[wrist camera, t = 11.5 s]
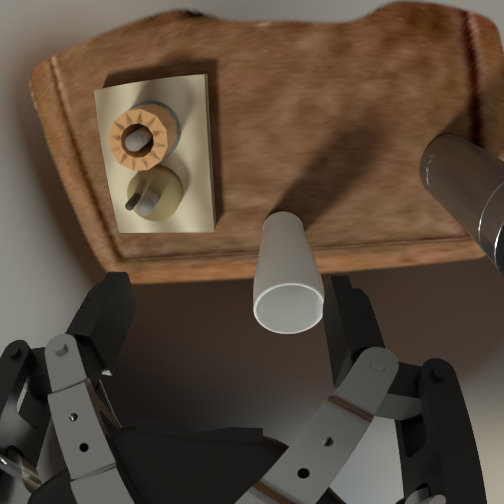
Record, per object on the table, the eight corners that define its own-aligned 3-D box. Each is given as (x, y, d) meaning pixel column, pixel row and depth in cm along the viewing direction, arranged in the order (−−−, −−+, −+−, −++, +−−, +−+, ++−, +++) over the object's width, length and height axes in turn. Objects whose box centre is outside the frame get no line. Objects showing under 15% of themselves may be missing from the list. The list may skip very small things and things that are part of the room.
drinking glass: (319, 224, 40) (342, 305, 28) (285, 258, 43) (292, 343, 31) (279, 193, 38) (286, 268, 25) (245, 231, 41) (237, 314, 28)
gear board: (207, 73, 30) (194, 76, 24) (216, 224, 40) (208, 255, 35) (102, 88, 30) (71, 96, 24) (124, 225, 41) (104, 254, 35)
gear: (175, 101, 30) (164, 106, 26) (179, 157, 33) (170, 168, 30) (121, 108, 30) (105, 114, 26) (127, 160, 33) (113, 172, 30)
